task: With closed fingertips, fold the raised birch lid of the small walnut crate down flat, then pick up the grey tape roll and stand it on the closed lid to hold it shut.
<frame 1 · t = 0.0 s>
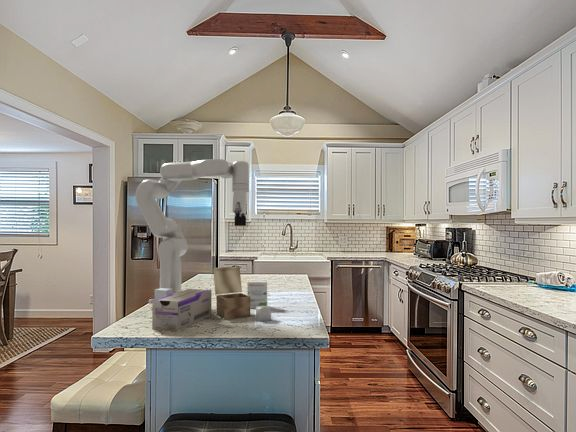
hand: (240, 225, 175), 37 cm above the countertop, tool pointing down, fingers open, 9 cm apart
ink box: (257, 307, 175), on the countertop
lid: (228, 280, 164), point 14 cm above the countertop, hinge at 105.0°
skincare box: (163, 319, 153), on the countertop
surgical sutures box: (183, 322, 149), on the countertop
crate: (233, 315, 159), on the countertop
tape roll: (263, 320, 152), on the countertop
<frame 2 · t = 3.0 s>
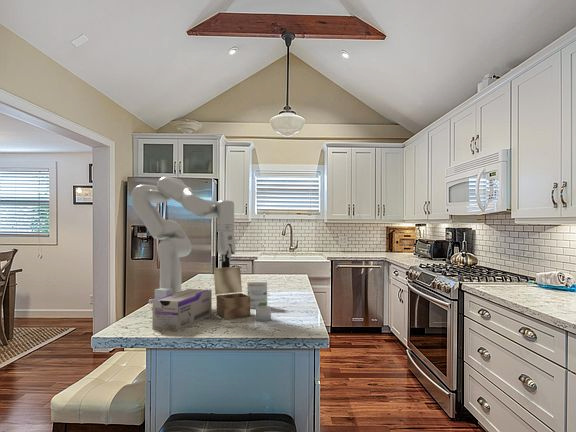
hand: (225, 270, 168), 18 cm above the countertop, tool pointing down, fingers closed
lid: (228, 280, 164), point 14 cm above the countertop, hinge at 101.9°, touching gripper
everything else where it was.
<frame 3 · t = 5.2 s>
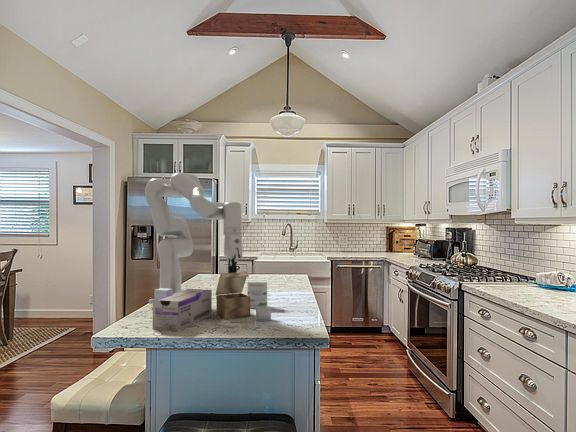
hand: (232, 275, 160), 17 cm above the countertop, tool pointing down, fingers closed
lid: (232, 284, 161), point 13 cm above the countertop, hinge at 56.8°, touching gripper
everything else where it was.
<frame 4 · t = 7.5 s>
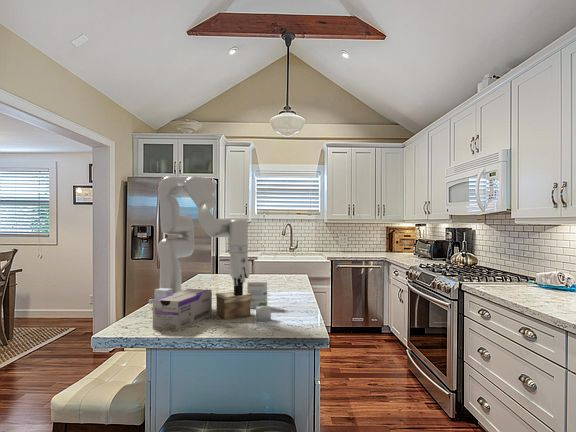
hand: (238, 295, 155), 9 cm above the countertop, tool pointing down, fingers closed
lid: (233, 296, 159), point 8 cm above the countertop, hinge at 2.0°, touching gripper
everything else where it was.
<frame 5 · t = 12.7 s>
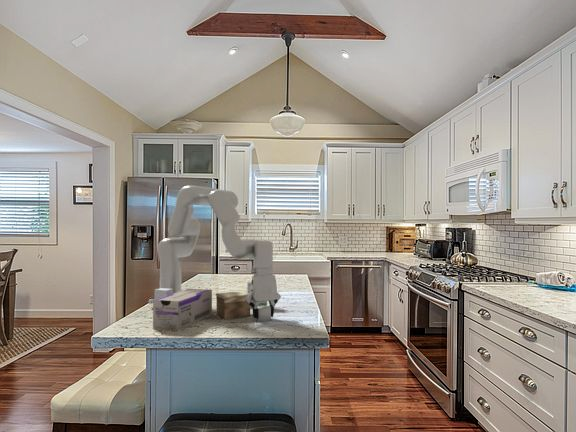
hand: (263, 316, 152), 1 cm above the countertop, tool pointing down, fingers closed on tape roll, 6 cm apart
lid: (233, 296, 159), point 8 cm above the countertop, hinge at 1.9°
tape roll: (263, 319, 152), on the countertop, touching gripper
everything else where it was.
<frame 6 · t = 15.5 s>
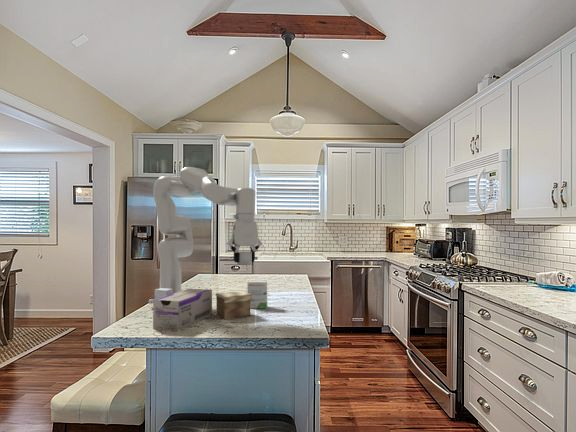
hand: (244, 261, 157), 23 cm above the countertop, tool pointing down, fingers closed on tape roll, 6 cm apart
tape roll: (244, 264, 157), point 21 cm above the countertop, touching gripper
everything else where it was.
when the fingers open (11 cm above the countertop, at t = 18.7 s): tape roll stays where it is, resting on lid.
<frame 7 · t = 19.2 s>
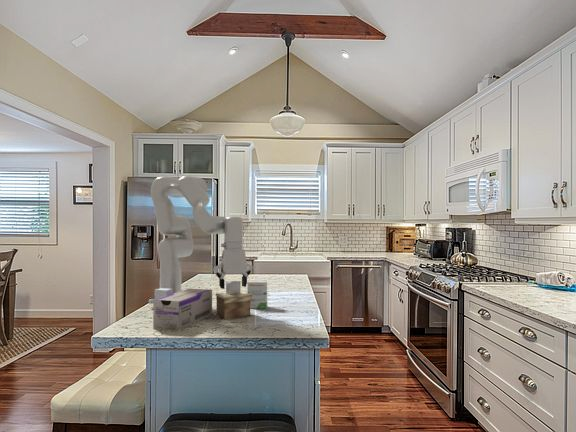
hand: (233, 287, 159), 12 cm above the countertop, tool pointing down, fingers open, 9 cm apart
lid: (233, 296, 159), point 8 cm above the countertop, hinge at 1.2°, touching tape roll
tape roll: (233, 293, 159), point 9 cm above the countertop, touching lid
everything else where it was.
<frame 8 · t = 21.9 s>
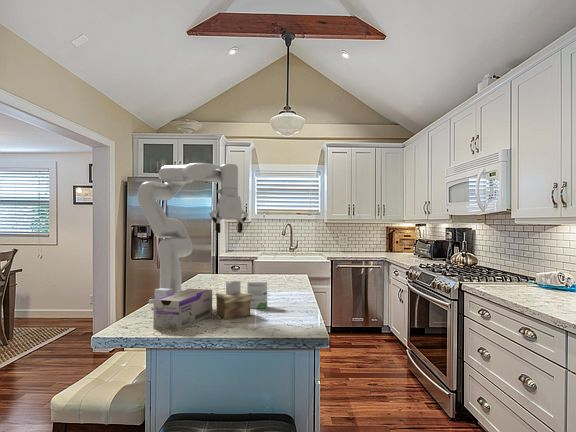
hand: (229, 232, 164), 34 cm above the countertop, tool pointing down, fingers open, 9 cm apart
nothing on the countertop moved.
at the end: lid at +1° (first picture: +105°); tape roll inside the target area on the crate (0.0 cm from its centre), point 8.9 cm above the crate's base; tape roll tilted 1° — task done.
